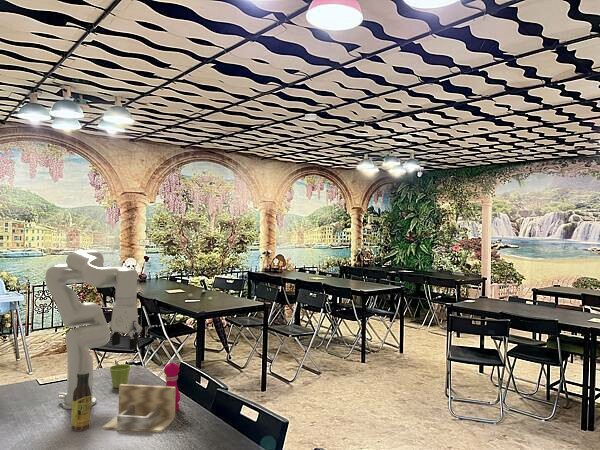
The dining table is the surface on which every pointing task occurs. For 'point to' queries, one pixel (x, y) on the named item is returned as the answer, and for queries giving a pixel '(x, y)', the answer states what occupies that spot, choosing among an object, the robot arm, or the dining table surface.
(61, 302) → the robot arm
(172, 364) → the pepper mill
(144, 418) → the condiment rack
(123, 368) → the plant pot
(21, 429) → the dining table surface
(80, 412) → the sauce bottle
